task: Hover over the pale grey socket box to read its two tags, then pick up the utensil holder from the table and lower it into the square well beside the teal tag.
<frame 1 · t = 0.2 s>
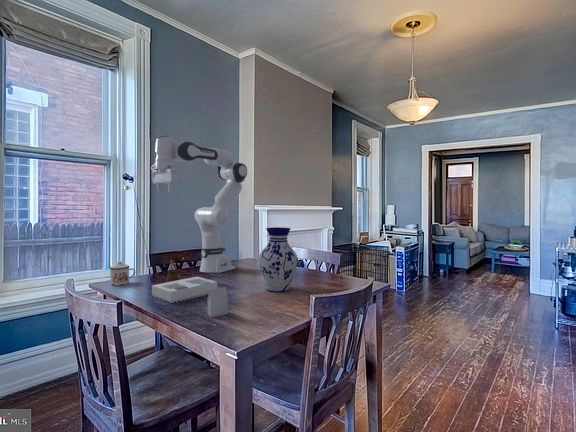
hand: (164, 191, 183), 48 cm above the table, tool pointing down, fingers open, 8 cm apart
teacup with lid: (123, 283, 176), on the table
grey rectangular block: (217, 314, 130), on the table
socket box: (185, 294, 157), on the table
vase: (278, 289, 166), on the table
utensil holder: (173, 283, 176), on the table
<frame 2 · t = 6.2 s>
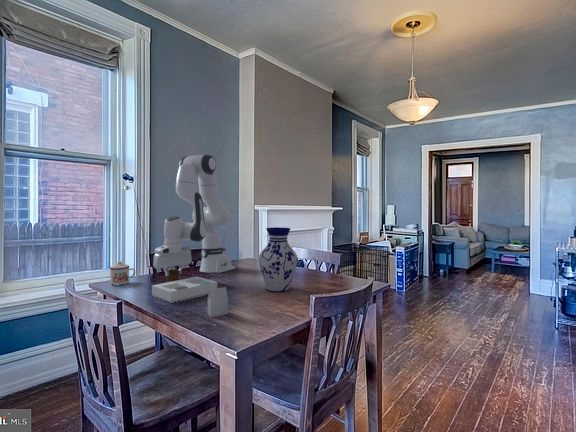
hand: (173, 274, 176), 5 cm above the table, tool pointing down, fingers closed on utensil holder, 5 cm apart
utensil holder: (173, 283, 176), on the table, touching gripper
everything else where it was.
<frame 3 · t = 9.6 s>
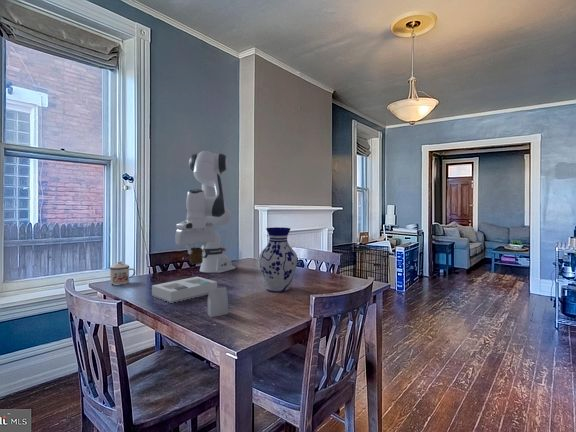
hand: (196, 253, 160), 18 cm above the table, tool pointing down, fingers closed on utensil holder, 5 cm apart
utensil holder: (196, 263, 160), point 14 cm above the table, touching gripper
everything else where it was.
when the fingers open (7 cm above the table, at t = 12.5 s): utensil holder drops 1 cm, resting on socket box.
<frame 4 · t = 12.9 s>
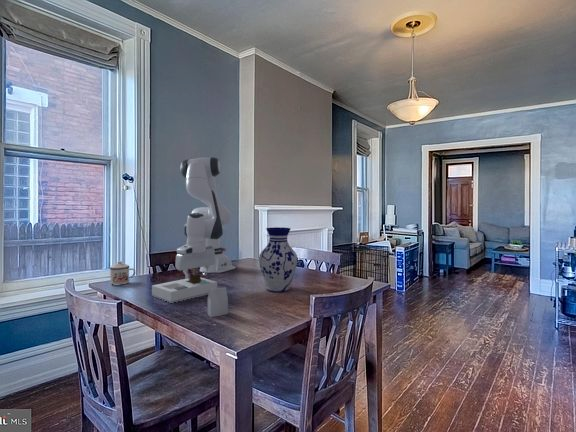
hand: (196, 276, 161), 7 cm above the table, tool pointing down, fingers open, 8 cm apart
utensil holder: (194, 290, 161), point 1 cm above the table, touching socket box
everything else where it was.
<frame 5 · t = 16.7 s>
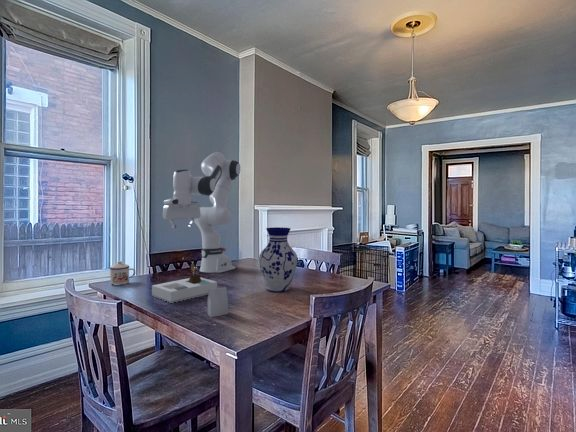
hand: (182, 227, 174), 29 cm above the table, tool pointing down, fingers open, 8 cm apart
nothing on the table moved.
at the end: utensil holder 0.8 cm from the target spot on the socket box, point 0.8 cm above the socket box's base; utensil holder tilted 0°; the gripper is holding nothing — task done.
